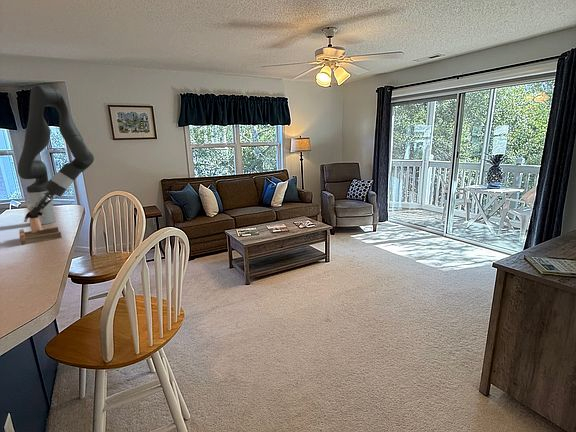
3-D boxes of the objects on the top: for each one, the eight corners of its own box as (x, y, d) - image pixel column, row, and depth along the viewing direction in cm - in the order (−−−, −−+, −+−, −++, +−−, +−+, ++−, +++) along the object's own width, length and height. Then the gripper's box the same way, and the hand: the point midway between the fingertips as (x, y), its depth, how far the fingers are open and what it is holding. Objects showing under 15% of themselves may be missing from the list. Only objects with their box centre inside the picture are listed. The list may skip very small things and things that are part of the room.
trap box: (21, 238, 141) (19, 229, 140) (58, 231, 150) (56, 223, 149) (21, 244, 132) (19, 236, 131) (61, 237, 141) (59, 229, 140)
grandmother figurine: (32, 234, 136) (24, 206, 132) (26, 233, 137) (18, 205, 133) (49, 228, 143) (42, 201, 139) (44, 227, 144) (37, 201, 140)
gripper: (49, 177, 145) (22, 207, 140) (52, 179, 134) (22, 212, 130) (65, 187, 149) (39, 216, 145) (69, 190, 139) (41, 221, 134)
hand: (31, 214), depth 137 cm, fingers closed on grandmother figurine, 3 cm apart
